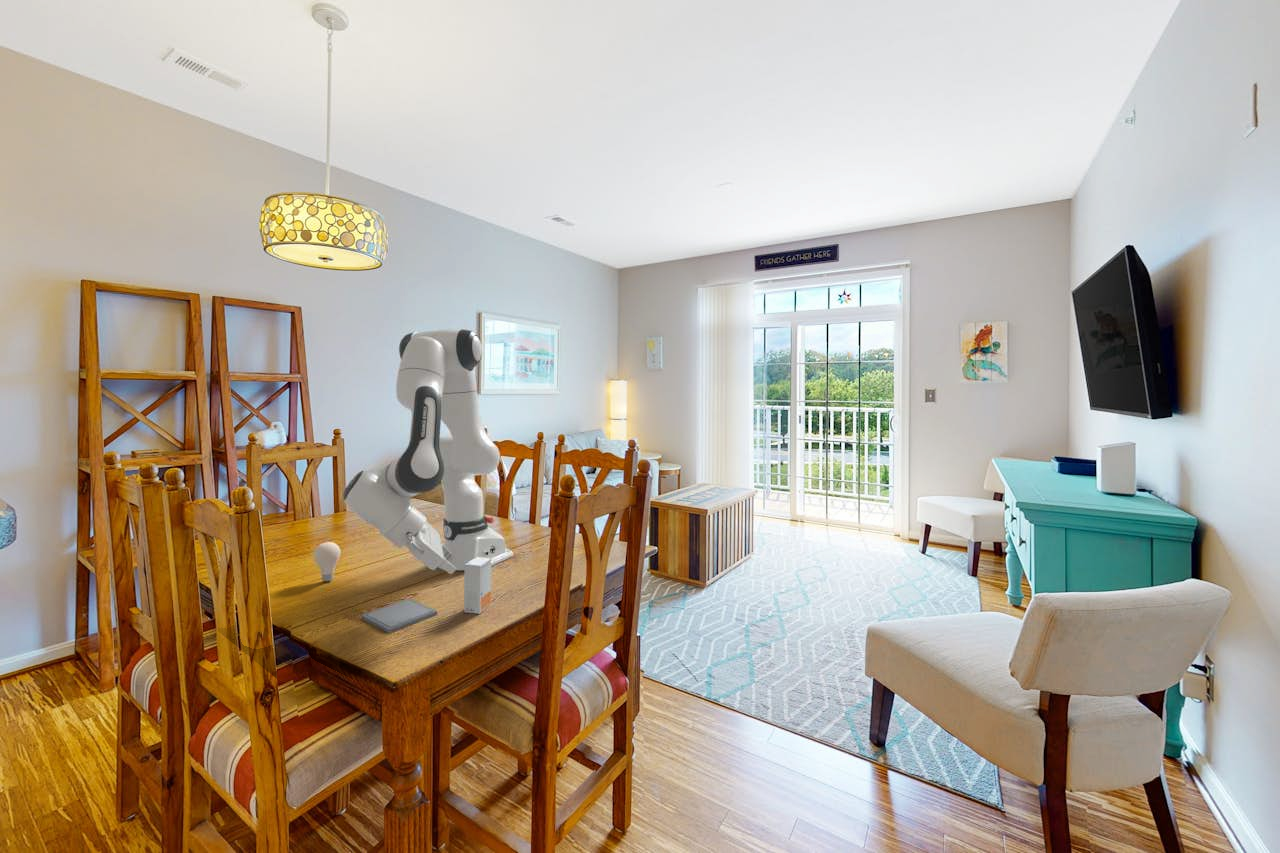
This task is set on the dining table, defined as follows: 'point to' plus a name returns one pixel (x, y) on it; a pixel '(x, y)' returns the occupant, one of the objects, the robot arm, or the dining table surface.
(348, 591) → the dining table surface
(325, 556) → the light bulb
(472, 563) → the skincare box
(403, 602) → the plate
